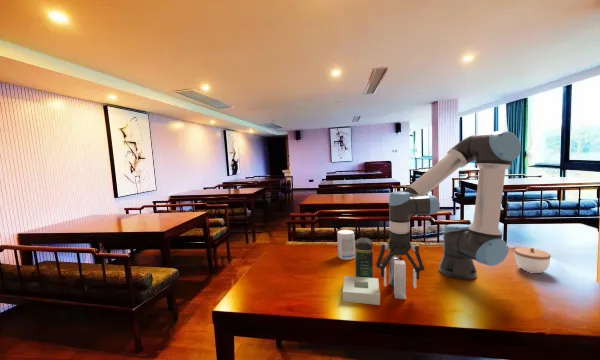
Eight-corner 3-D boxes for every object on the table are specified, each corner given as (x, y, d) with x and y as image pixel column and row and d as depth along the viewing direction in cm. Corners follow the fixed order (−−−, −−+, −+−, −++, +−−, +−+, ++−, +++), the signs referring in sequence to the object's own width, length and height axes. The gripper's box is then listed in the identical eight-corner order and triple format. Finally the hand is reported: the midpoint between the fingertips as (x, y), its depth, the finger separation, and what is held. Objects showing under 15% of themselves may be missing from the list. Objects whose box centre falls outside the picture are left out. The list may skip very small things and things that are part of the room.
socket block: (378, 287, 112) (378, 278, 112) (380, 305, 99) (380, 294, 98) (345, 284, 116) (345, 275, 115) (342, 301, 102) (342, 291, 102)
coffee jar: (373, 284, 115) (373, 243, 114) (355, 282, 117) (354, 242, 116) (372, 274, 125) (372, 236, 123) (356, 273, 127) (355, 236, 125)
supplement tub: (358, 256, 148) (358, 231, 147) (348, 261, 141) (348, 235, 140) (344, 253, 155) (343, 228, 154) (334, 257, 148) (333, 232, 147)
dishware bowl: (548, 279, 114) (549, 254, 113) (511, 270, 124) (512, 248, 123) (551, 270, 122) (552, 247, 122) (517, 263, 132) (517, 242, 131)
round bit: (398, 282, 116) (398, 256, 115) (399, 286, 112) (399, 259, 111) (389, 281, 117) (389, 255, 116) (390, 286, 113) (389, 259, 112)
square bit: (404, 294, 106) (404, 260, 105) (405, 299, 102) (405, 264, 101) (394, 293, 107) (393, 260, 106) (395, 298, 103) (394, 263, 102)
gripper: (428, 229, 103) (428, 283, 105) (369, 227, 109) (369, 279, 111) (433, 235, 96) (433, 292, 98) (369, 232, 102) (370, 287, 103)
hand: (399, 285), depth 104 cm, fingers open, 10 cm apart
